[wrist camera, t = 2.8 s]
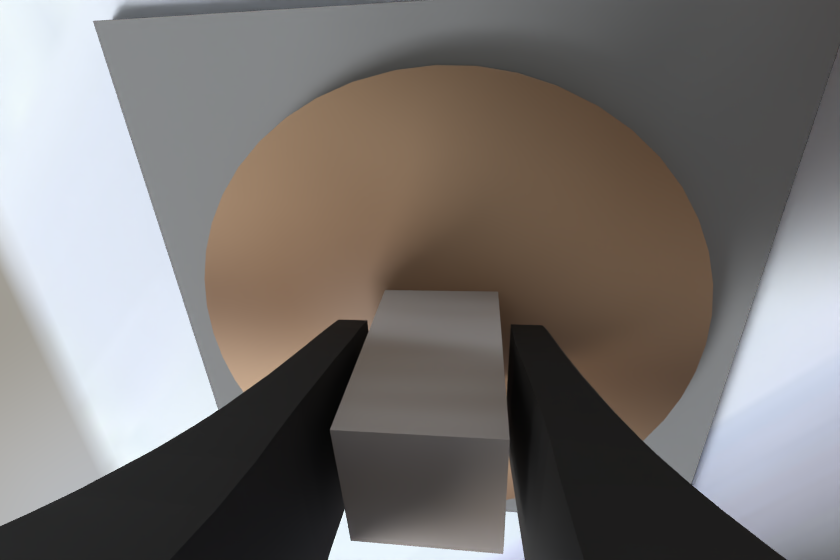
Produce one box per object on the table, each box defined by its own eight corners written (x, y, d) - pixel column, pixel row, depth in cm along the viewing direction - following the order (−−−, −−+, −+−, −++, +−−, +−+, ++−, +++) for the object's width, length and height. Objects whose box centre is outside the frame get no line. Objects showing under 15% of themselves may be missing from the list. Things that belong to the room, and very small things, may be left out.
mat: (671, 512, 13) (677, 525, 13) (249, 480, 15) (244, 490, 14) (844, -24, 7) (864, -29, 7) (108, 22, 9) (93, 21, 8)
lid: (647, 496, 12) (730, 717, 8) (269, 471, 14) (181, 648, 10) (770, 47, 7) (1136, 42, 3) (156, 79, 9) (-127, 103, 5)
